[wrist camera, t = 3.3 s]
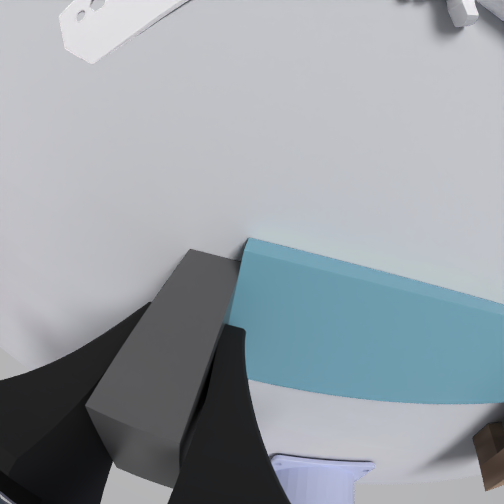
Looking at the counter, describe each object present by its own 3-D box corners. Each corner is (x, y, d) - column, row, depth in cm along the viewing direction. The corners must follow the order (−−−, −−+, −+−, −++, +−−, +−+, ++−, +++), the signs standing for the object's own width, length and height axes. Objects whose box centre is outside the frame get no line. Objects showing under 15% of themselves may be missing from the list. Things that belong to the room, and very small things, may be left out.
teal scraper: (521, 390, 12) (550, 464, 6) (181, 343, 13) (121, 475, 7) (570, 324, 9) (616, 397, 3) (193, 224, 10) (73, 376, 4)
